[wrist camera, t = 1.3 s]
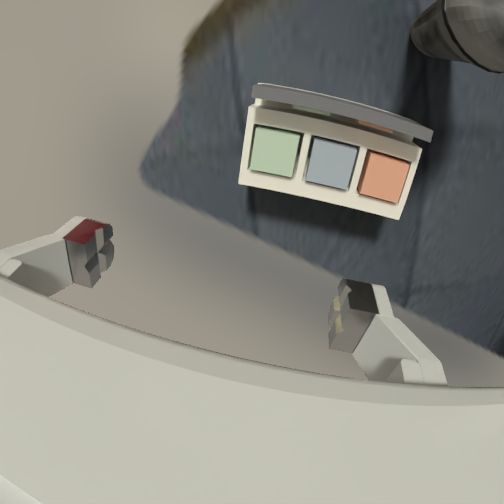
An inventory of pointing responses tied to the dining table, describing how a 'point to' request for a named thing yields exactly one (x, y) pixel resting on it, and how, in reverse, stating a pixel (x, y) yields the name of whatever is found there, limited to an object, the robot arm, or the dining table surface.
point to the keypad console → (335, 128)
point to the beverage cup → (463, 32)
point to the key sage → (274, 150)
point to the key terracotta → (382, 176)
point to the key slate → (330, 162)
